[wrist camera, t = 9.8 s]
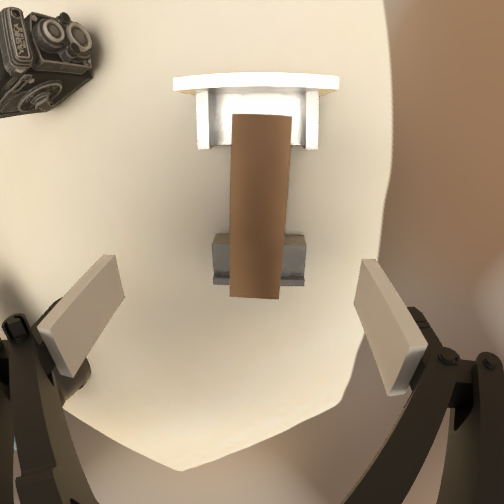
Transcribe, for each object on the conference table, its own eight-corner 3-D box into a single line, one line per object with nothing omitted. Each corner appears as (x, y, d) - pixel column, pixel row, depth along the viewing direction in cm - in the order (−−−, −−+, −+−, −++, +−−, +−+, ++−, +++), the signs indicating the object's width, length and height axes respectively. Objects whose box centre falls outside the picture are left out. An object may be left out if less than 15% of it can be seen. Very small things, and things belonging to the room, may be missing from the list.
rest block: (218, 268, 37) (213, 284, 33) (216, 233, 35) (210, 247, 32) (300, 269, 36) (303, 286, 33) (303, 235, 34) (307, 248, 31)
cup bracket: (203, 142, 30) (175, 154, 21) (201, 88, 28) (173, 78, 19) (316, 143, 30) (337, 154, 21) (317, 88, 27) (338, 76, 18)
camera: (115, 74, 27) (28, 62, 14) (53, 119, 29) (-34, 136, 16) (92, 12, 23) (13, -18, 10) (34, 59, 25) (-48, 57, 12)
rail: (236, 266, 33) (229, 296, 28) (239, 114, 26) (232, 113, 21) (277, 268, 33) (278, 299, 28) (287, 116, 26) (292, 116, 21)
